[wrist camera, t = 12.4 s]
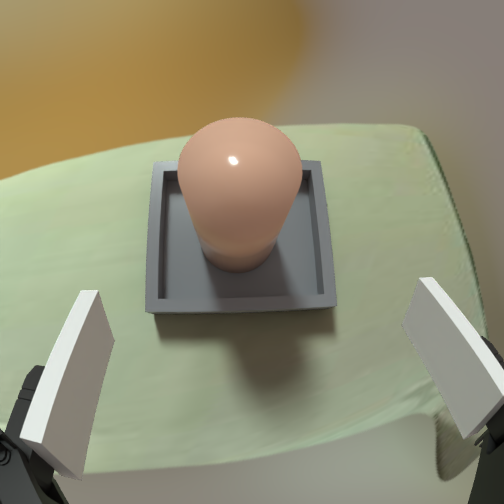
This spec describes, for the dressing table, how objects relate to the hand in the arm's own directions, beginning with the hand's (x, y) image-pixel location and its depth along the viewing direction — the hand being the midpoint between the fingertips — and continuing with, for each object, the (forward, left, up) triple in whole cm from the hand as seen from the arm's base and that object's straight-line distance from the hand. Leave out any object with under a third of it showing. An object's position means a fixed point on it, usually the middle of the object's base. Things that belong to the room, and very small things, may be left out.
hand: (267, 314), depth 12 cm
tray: (-6, +5, -14) cm, 16 cm away
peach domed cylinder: (-6, +5, -14) cm, 16 cm away
